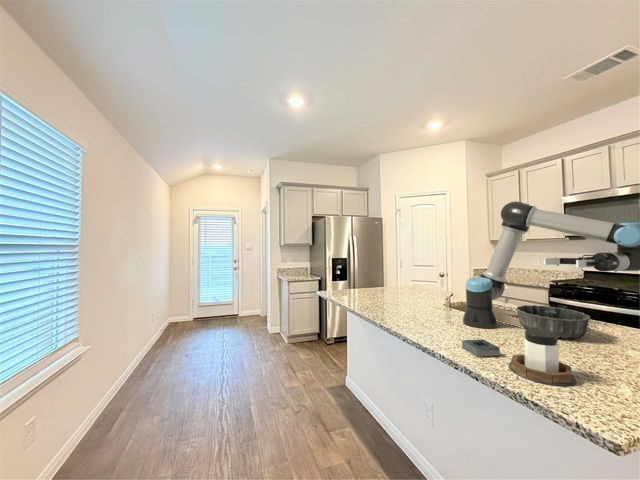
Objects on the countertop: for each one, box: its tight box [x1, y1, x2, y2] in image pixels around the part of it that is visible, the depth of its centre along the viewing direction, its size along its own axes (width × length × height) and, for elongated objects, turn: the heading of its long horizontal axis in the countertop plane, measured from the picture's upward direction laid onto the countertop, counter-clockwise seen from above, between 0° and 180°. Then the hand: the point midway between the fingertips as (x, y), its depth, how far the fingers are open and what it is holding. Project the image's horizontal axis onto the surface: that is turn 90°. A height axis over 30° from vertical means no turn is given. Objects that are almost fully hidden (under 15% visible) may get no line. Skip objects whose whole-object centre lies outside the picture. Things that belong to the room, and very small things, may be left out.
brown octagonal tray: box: [508, 353, 577, 387], centre depth 89 cm, size 17×17×3 cm
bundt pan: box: [515, 304, 591, 340], centre depth 128 cm, size 26×26×10 cm
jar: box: [523, 329, 560, 373], centre depth 90 cm, size 9×8×12 cm
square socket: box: [461, 339, 501, 358], centre depth 106 cm, size 9×9×3 cm
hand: (559, 262), depth 109 cm, fingers open, 13 cm apart
